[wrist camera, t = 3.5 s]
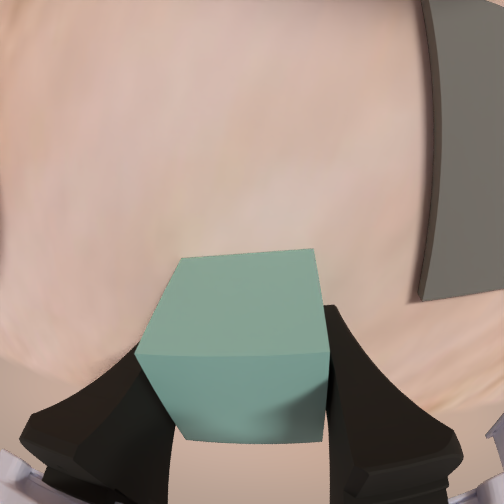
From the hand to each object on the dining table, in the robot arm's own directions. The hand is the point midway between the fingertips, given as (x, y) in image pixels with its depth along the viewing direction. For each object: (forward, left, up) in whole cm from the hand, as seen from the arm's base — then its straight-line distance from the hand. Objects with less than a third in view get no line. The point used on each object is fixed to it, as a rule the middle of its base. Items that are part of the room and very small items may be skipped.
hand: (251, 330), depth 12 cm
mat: (+6, -13, -1) cm, 14 cm away
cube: (0, 0, -1) cm, 1 cm away
